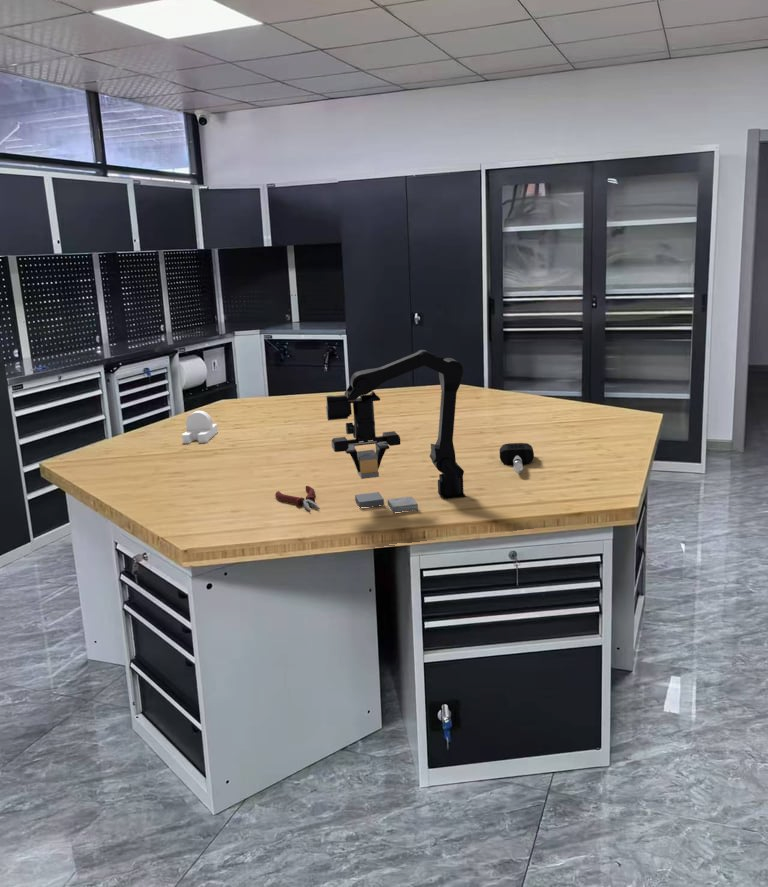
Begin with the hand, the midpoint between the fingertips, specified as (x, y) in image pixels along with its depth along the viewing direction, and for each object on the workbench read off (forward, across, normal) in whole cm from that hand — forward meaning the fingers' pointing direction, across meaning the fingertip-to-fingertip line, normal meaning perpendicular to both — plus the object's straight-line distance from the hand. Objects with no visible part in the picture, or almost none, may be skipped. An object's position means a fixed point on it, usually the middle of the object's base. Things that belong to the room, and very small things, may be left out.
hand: (367, 470), depth 233 cm
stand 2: (+10, -8, +8) cm, 15 cm away
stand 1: (+10, 0, 0) cm, 10 cm away
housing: (+1, 0, 0) cm, 1 cm away
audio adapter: (+10, -52, -19) cm, 56 cm away
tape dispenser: (+10, +48, -107) cm, 117 cm away
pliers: (+10, +20, -9) cm, 24 cm away
